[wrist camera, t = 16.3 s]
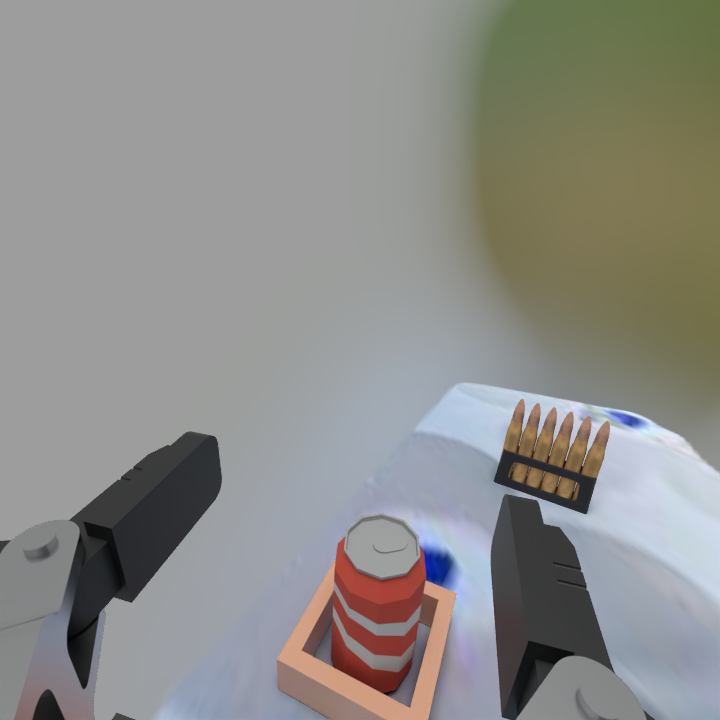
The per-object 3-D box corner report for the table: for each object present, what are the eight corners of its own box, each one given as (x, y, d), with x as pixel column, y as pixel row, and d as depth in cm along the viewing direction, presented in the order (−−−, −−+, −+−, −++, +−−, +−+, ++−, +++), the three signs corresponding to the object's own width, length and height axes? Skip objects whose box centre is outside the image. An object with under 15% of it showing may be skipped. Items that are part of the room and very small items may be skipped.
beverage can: (423, 687, 29) (445, 573, 24) (338, 710, 28) (345, 593, 23) (396, 609, 35) (410, 503, 30) (324, 625, 33) (327, 515, 28)
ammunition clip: (493, 482, 51) (512, 400, 46) (496, 473, 52) (515, 394, 48) (586, 514, 46) (618, 428, 42) (586, 504, 48) (617, 420, 43)
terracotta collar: (341, 573, 37) (342, 546, 36) (450, 621, 34) (456, 593, 32) (278, 689, 29) (277, 659, 27) (416, 769, 25) (423, 740, 24)
